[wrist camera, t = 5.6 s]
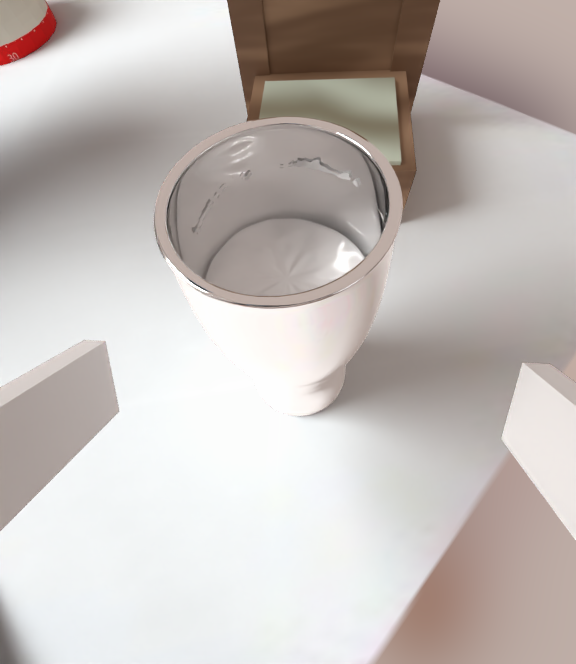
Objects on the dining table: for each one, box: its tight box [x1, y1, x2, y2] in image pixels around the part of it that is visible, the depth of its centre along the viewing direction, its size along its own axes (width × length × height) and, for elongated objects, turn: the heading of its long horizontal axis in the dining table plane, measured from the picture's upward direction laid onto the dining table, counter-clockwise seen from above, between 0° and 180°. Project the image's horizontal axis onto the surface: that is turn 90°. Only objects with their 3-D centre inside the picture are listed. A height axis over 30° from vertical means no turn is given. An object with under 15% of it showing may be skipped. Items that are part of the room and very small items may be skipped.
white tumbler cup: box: [153, 116, 403, 416], centre depth 16 cm, size 7×7×15 cm
